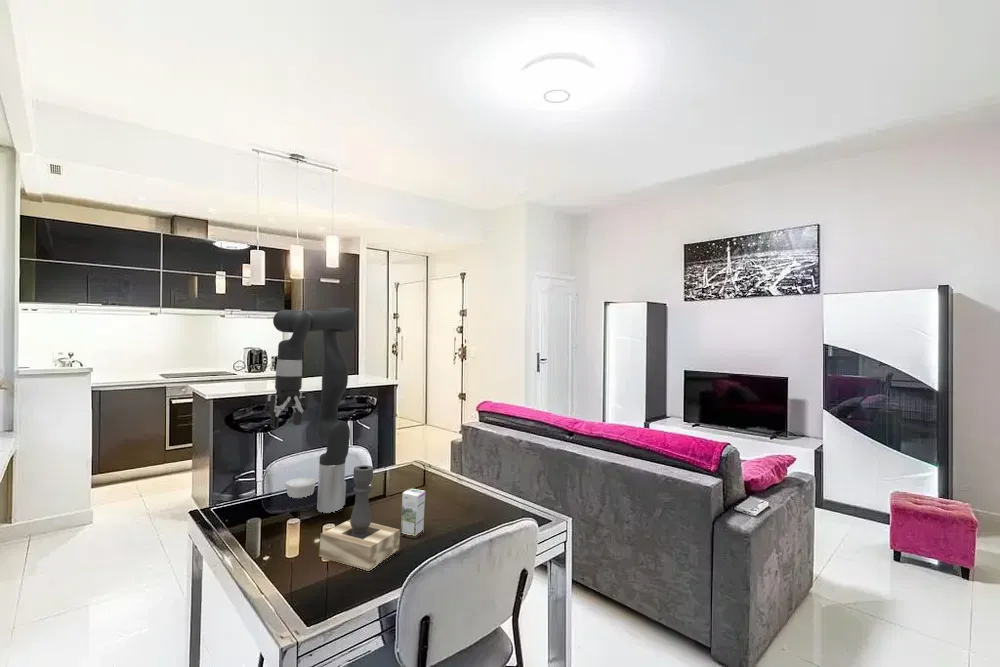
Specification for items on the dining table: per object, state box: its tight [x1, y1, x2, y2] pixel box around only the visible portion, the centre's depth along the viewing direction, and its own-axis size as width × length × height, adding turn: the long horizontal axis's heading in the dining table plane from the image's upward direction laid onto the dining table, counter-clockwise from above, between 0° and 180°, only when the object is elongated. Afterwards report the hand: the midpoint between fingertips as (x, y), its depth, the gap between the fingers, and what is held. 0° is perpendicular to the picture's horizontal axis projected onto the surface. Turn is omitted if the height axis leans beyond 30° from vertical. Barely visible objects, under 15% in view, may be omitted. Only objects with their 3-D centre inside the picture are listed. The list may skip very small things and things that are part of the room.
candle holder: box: [349, 465, 374, 539], centre depth 141 cm, size 6×6×25 cm
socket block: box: [318, 519, 401, 571], centre depth 141 cm, size 14×18×7 cm
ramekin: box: [285, 477, 317, 499], centre depth 191 cm, size 11×11×5 cm
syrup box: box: [400, 488, 426, 536], centre depth 158 cm, size 6×6×14 cm
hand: (286, 426), depth 147 cm, fingers open, 8 cm apart
